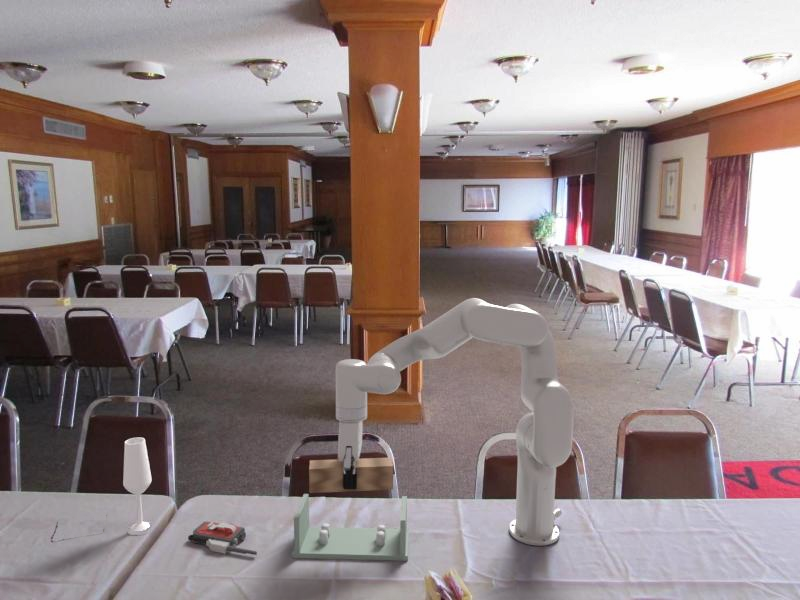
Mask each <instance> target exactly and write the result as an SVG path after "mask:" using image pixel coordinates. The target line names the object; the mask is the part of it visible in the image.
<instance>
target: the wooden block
mask: <svg viewBox="0 0 800 600" xmlns="http://www.w3.org/2000/svg"><path fill="white" fill-rule="evenodd" d="M351 460H354V459H351ZM393 463H394V462H393V459H392V457H391V456H390V457H368V458H367V457H365V458H359V460H358V461H357V462H356V473H357V488H356V489H343V472H344V459H343V461H341V462H339V461H338V458H337V459H315V460H313V459H311V460H309V467H308V470H309V471H308V476H309V478H308V483H309V484H308V485H309V486H308V487H309V490H308V491H309V494H316V493H323V494H324V493H341V492H343V493H344V492H364V491H365V492H366V491H387V490H389V491H390V490H394V464H393ZM351 466H353V463H351Z"/></svg>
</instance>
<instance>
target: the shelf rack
mask: <svg viewBox="0 0 800 600" xmlns="http://www.w3.org/2000/svg"><path fill="white" fill-rule="evenodd" d="M309 494H310V493H303V495H302V498H301V500H300V501H299V505H298V506H297V509H296V512H295V513H294V516H293V535H294V536H293V540H294V541H293V542H294V545H293V546H294V547H293V550H292V553H291V557H292V558H293V559H295V558H296V559H297V558H298V559H327V560H328V559H329V560H330V559H331V560H332V559H333V560H363V561H364V560H366V561H367V560H368V561H370V560H371V561H403V562H404V561H405V562H407V561H409V545H410V544H409V543H410V542H409V541H410V540H409V539H410V529H409V528H408V527H407V526H408V519H407V518H408V508H407V507H408V496H407V495H402V496H401V508H400V509H401V510H400V520H399V521H400V524H399V525H400V528H386V525H384V524H378V525H377V528H375V527H374V528H373V527H372V528H370V527H339V526H338V527H335V526H334V527H332V526H331V527H330V524H329V523H326V522H325V523H323V524H321V526H310V505H309V503H310V500H309V498H310V497H309V496H310V495H309Z"/></svg>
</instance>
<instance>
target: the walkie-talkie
mask: <svg viewBox="0 0 800 600" xmlns="http://www.w3.org/2000/svg"><path fill="white" fill-rule="evenodd" d="M246 537H247V533H246V530H245V527H242V526H237V525H236V524H233V523H227V522H219V523H218V522H213V521H202V523H201V524H200V525H198V526H197V527H196V528H195V529H194V530H193V531H192V534H190V535H188V538H187V539H188V540H189V541H190V542H191V541H192V542H196V543H195V544H199V545H203V544H205V547H208V549H209V550H210V551H211V552H214V553H220V554H223V555H226V554H227V553H228V552H230V553H232V552H234V553H239V554H245V555H246V554H248V555H254V556H257V554H258V552H257V551H256V550H251V549H248V548H247V549H245V548H240V547H237V545H238V544H239V543H240V542H241V541H242V542H243V541H244V540H245V539H246ZM200 543H201V544H200Z"/></svg>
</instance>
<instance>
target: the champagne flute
mask: <svg viewBox="0 0 800 600" xmlns="http://www.w3.org/2000/svg"><path fill="white" fill-rule="evenodd" d="M123 453H124V454H123V478H122V479H123V480H122V485H123V487H124V489H125V490H126V491H127V492H129V493H131V494H133V495H135V498H136V499H135V501H136V514H137V515H136V516H137V522H136V523H134V524H132V525H131V526H132V527H131V526H130V527H131V530H133V531H143V530H146V529H147V528H149V527H150V524H149V523H150V522H147V521H143V507H142V494H143V493H144V492H145V491H146V490H147V489H148V488H149V487H150V485H151V483H152V480H153V479H152V473H151V468H150V461H149V456H148V449H147V444H146V439H145V438H144V437H138V436H137V437H132V438H131V437H130V438H128V439H127V440H125V441H124V451H123Z"/></svg>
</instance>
